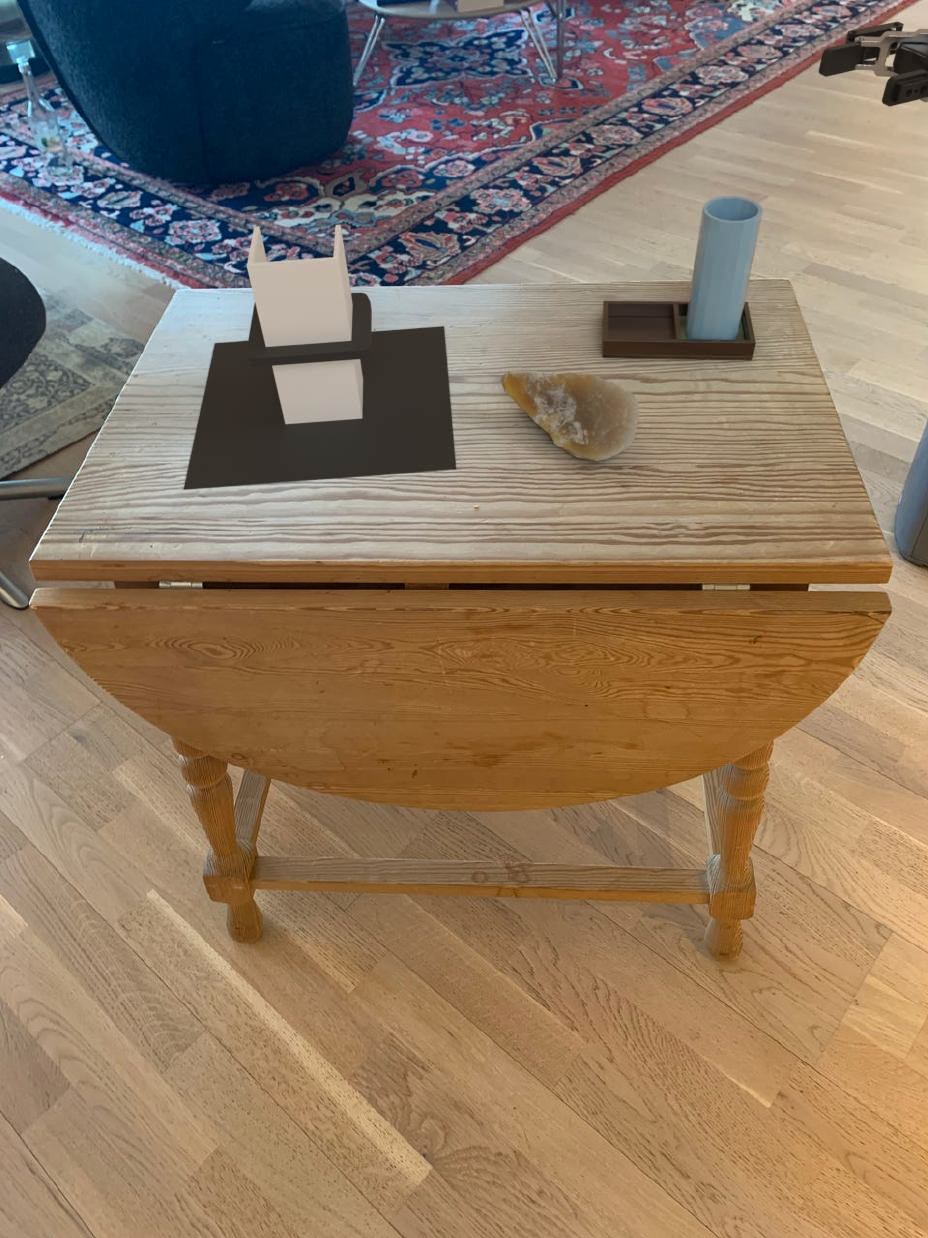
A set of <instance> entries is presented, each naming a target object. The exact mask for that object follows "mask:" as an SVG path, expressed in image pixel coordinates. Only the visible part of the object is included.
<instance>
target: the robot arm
mask: <svg viewBox="0 0 928 1238" xmlns="http://www.w3.org/2000/svg"><path fill="white" fill-rule="evenodd" d="M904 26H905V25H904V23H903V22H901V21H893V22H887V23H882V24H877V25H872V26H867V27H861V28H857V29H856V28H855V29H850V30H847V33H846V38H845V43H844V44H839V45H835V46H830V47H826V48H825V49H824V50H823V51H822V54H821V58H820V61H819V62H820V63H819V67H818V74H819V75H821V76H823V77H825V78H827V77H832V76H835V75H840V74H845V73H849V72H853V71H872V72H873V73H874V75H875V76H876V77H881V78H882V77H884V78H888V79H887V81H886V83H885V87H884V91H883V94H882V98H881V103H882V104H883V105H885V106H887V107H890V108H891V107H894V106H899V105H902V104H906V103H907V104H908V103H911V102H915V101H919V100H920V101H922V102H924V103H928V28H918V29H917V30H915V31H906V30H905V31H903V29H904ZM893 55H894V58H893V62H892V65H891V66H890V65H889V66H888V65H886V62H887V58H889V57H890V56H893Z"/></svg>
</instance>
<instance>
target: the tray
mask: <svg viewBox="0 0 928 1238" xmlns="http://www.w3.org/2000/svg"><path fill="white" fill-rule="evenodd" d="M688 303H689V300H688V301H687V300H686V301H681V300H680V301H678V300H677V301H675V300H603V304H602V319H601V320H602V321H601V326H602V327H601V331H602V332H601V333H602V334H601V335H602V337H601V338H602V339H601V340H602V342H601V344H602V345H601V349H602V352H601V353H602V355H601V357H602V358H604V359H605V358H607V359H662V360H663V359H664V360H665V359H668V360H669V359H671V360H731V361H753V358H754V353H755V349H756V344H757V342H756V341H757V340H756V337H755V331H754V326H753V322H752V315H751V310H750V306H749V301H745V303H744V308H743V313H742V318H741V323H740V328H739V331H738V336H737V338H736V339H735V340H701V339H688V337H687V336H686V334H685V323H686V317H687V310H688Z"/></svg>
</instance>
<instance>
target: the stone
mask: <svg viewBox="0 0 928 1238" xmlns="http://www.w3.org/2000/svg"><path fill="white" fill-rule="evenodd" d="M500 384H501V386H502V388H503V391H504V394H506V395H507V396H508V397H510V398H511V399H512V400H513V401H514V402H515V403H516V405H517V406H518V407H519V408H520V409H521V410H522V411H523V412H525V413H526V414H527V415H529V417H530V419H531V420H532V421H533V422H534V424H536V425H538V426H539V427H540V428H541V429H542V430H543V431H544V432H546V433H547V434H549V436H550V438H551V440H552V443H553V445H554V446H557V447H559V448H561V449H563V450H565V451H567V453H568V454H570V455H572V456H574V457H575V458H577V459H580V460H581V459H582V460H586V461H595V462H601V461H602V462H603V461H607V460H609V459H612V458H613V457H615V456H617V455H619V454H621V453H623V452H625V450H627V449H628V448H630V446H631V445H632V443H634V441H635V439H636V433H637V430H638V423H639V415H640V410H639V409H640V408H639V401H638V399H637V398H636V396H635V394H634V393H633V392H631V391H630V390H629V389H628V388H624V387H622V386H620V385H618V384H615V383H614V382H611V381H608V380H606V379H603V378H602V377H601V376H599V375H593V374H591V373H584V374H576V373H573V372H564V373H561V374H557V373H548V374H547V373H544V372H542V371H537V370H528V369H527V370H525V369H524V370H509V369H508V371H506V372H505V373H504V374H503V375H502V376H501V378H500Z"/></svg>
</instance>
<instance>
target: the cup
mask: <svg viewBox="0 0 928 1238" xmlns="http://www.w3.org/2000/svg"><path fill="white" fill-rule="evenodd" d="M763 211H764V210H763V208H762V205H761V204H759V203H758V202H757V201H755V200H752V199H751V198H747V197H744V196H743V197H742V196H735V195H726V196H725V195H724V196H719V197H714V198H711V199H710V200H708V201H706V202H705V203H704V205H703V207H702V211H701V215H700V224H699V231H698V236H697V244H696V250H695V256H694V262H693V263H694V264H693V270H692V271H693V272H692V277H691V283H690V289H689V297H688V301H689V303H688V310H687V317H686V323H685V334H686V336H687V337H688V339H701V340H735V339H736V338H737V336H738V331H739V328H740V323H741V318H742V313H743V308H744V303H745V302H746V298H747V292H748V288H749V282H750V277H751V272H752V268H753V263H754V257H755V253H756V248H757V242H758V237H759V233H760V232H759V231H760V227H761V222H762V217H763Z"/></svg>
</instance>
